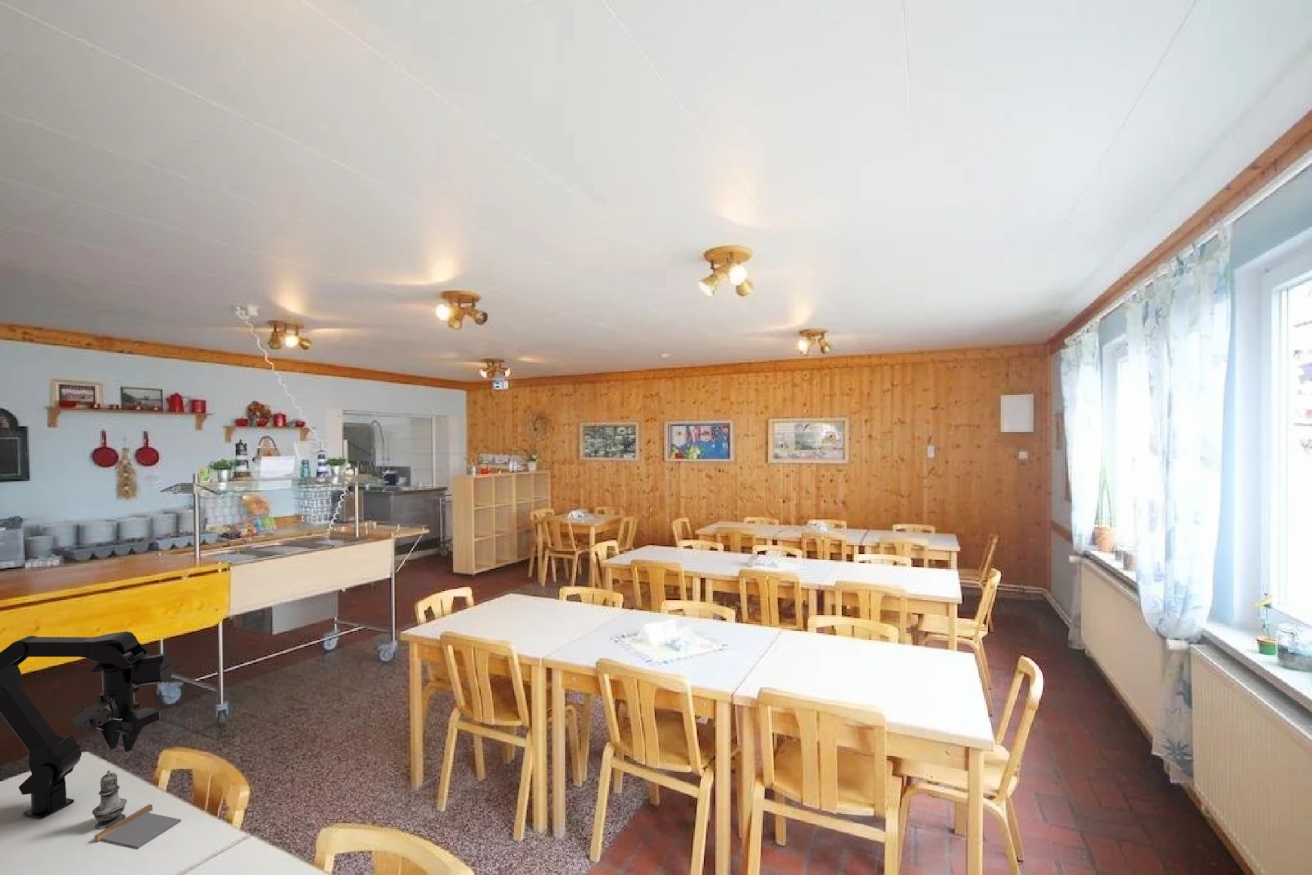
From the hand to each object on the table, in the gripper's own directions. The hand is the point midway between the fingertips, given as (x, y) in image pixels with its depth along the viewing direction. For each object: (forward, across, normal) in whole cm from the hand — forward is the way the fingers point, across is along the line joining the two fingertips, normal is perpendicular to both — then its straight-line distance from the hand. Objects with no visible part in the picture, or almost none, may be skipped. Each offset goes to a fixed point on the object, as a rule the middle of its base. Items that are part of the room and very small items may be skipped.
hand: (120, 749), depth 143 cm
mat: (+12, +18, -8) cm, 23 cm away
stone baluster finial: (+12, +7, -7) cm, 16 cm away
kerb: (+12, +12, -7) cm, 18 cm away
